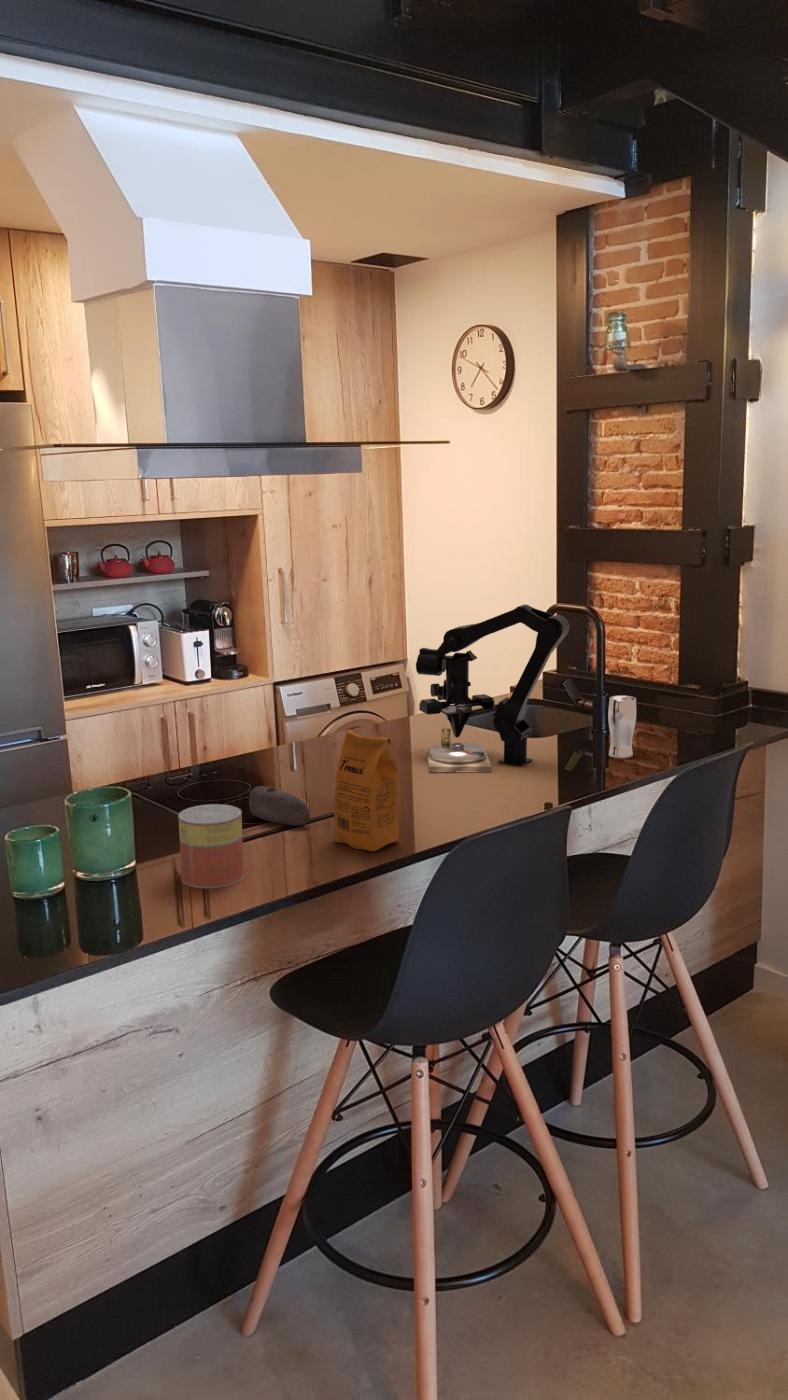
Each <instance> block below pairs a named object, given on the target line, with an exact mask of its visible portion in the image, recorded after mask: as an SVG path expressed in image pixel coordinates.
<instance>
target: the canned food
mask: <svg viewBox="0 0 788 1400" xmlns="http://www.w3.org/2000/svg"><path fill="white" fill-rule="evenodd" d="M242 815H243V811H242V809H241V808H239V807H237V806H234V805H230V804H221V803H209V804H207V803H206V804H200V805H195V806H190V807H187V808H185V809H182V810H180V812H179V813H178V814H177V818H178V830H179V831H178V832H179V833H178V834H179V850H180V851H179V852H180V854H179V855H180V866H181V867H180V868H181V869H180V871H181V876H180V880H181V882H182V884H184V885H185V886H188V887H192V888H194V889H195V888H196V889H219V888H225V887H229V886H232V885H235V884H237V883H239V882H241V881H242V880H243V879H244V877H245V869H244V846H243V825H242V824H243V819H242V818H243V817H242Z"/></svg>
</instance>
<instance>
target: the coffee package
mask: <svg viewBox="0 0 788 1400" xmlns="http://www.w3.org/2000/svg"><path fill="white" fill-rule="evenodd" d="M391 744H392V741H391V739H390V738H389V737H363V736H361V735H359V734H357V733H355V732H353V731H352V730H350V729H348V730H346V731H345V737H344V740H343V743H342V746H341V751H340V755H339V759H338V764H337V770H336V773H335V774H336V775H335V783H334V784H335V788H334V798H333V799H334V800H333V815H334V842H335V843H338V844H346V845H348V846H349V847H350V848H351V847H352V848H351V849H353V848H355V849H354V850H358V849H363V850H362V851H366V850H368V852H377V851H379V850H380V849H382V848H384V847H386V846H387V845H389V844H392V843H395V842H397V841H398V840H399V838H400V836H399V835H400V834H399V800H400V799H399V797H400V795H399V794H400V793H399V791H400V790H399V782H400V781H399V777H400V774H399V773H400V772H399V769H398V767H397V764H396V761H395V759H394V757H393V755H392V752H391V750H390V745H391ZM376 850H377V851H376Z"/></svg>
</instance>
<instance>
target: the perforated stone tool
mask: <svg viewBox="0 0 788 1400" xmlns="http://www.w3.org/2000/svg"><path fill="white" fill-rule="evenodd" d="M248 795H249V799H248V802H249V803H248V804H249V806H248V808H249V811H250V812H251V814H252V815H253V816H255V817H257V818H259V819H261V820H263V821H266V822H271V823H275V824H280V825H286V826H291V827H292V826H293V827H294V826H295V827H300V826H305V825H306V824H307V823H308V822H309V821H310V819H311V813H310V809H309V808H308V806H307V804H306V803H305V802H304V801H303V800H302V799H301V798H300V797H298V796H296V795H293V794H291V793H288V792H287V791H283V790H281V789H278V788H273V787H270V786H266V785H265V786H264V785H258V786H255V787H254V788H253V789H251V790H250V791H249V794H248Z"/></svg>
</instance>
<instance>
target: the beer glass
mask: <svg viewBox="0 0 788 1400" xmlns="http://www.w3.org/2000/svg"><path fill="white" fill-rule="evenodd" d="M607 711H608V712H607V713H608V716H607V717H608V719H607V721H608V728H609V734H610V746H609V751H608V756H610V757H611V758H616V759H630V758H632V757H633V755H634V753H633V743H632V742H633V737H634V731H635V727H636V722H637V698H636V697H635V696H631V695H630V696H629V695H612V696H610V697H609V701H608V710H607Z"/></svg>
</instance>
